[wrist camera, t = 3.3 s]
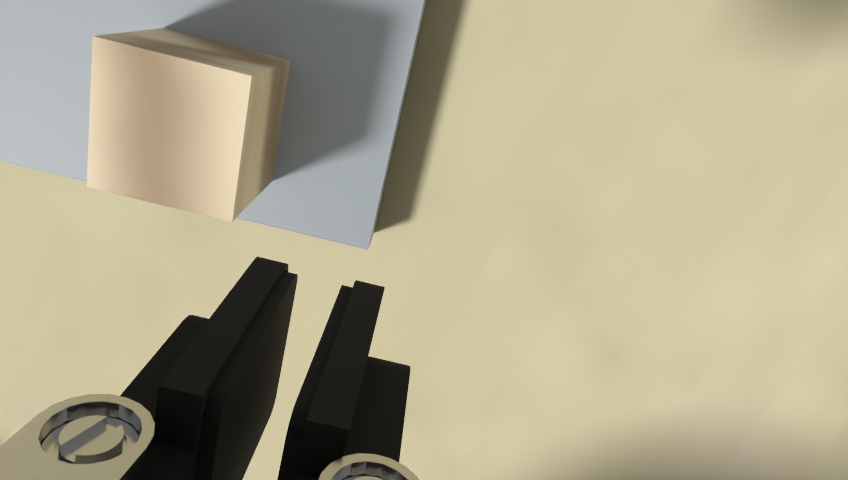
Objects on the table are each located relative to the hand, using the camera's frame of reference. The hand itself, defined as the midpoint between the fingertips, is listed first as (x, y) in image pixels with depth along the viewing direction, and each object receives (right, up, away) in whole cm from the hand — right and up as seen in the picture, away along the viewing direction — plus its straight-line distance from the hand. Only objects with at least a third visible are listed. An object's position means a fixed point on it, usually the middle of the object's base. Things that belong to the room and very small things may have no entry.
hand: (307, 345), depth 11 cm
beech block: (-6, +7, +14) cm, 17 cm away
